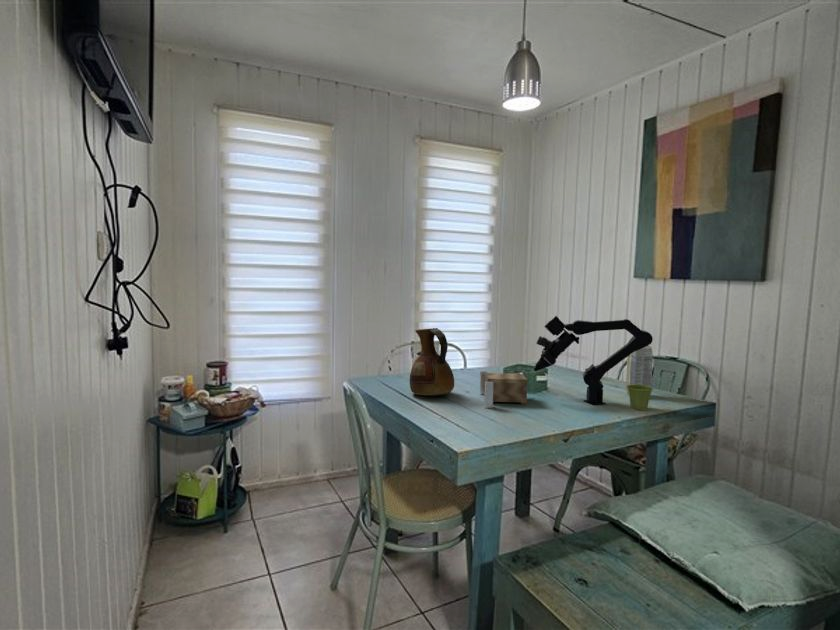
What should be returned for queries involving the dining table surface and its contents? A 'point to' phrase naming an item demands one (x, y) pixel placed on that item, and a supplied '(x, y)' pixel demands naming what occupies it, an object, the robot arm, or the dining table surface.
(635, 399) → the plant pot
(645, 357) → the juice carton
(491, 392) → the post
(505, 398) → the wood grain box
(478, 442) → the dining table surface
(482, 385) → the post
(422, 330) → the ceramic pitcher
